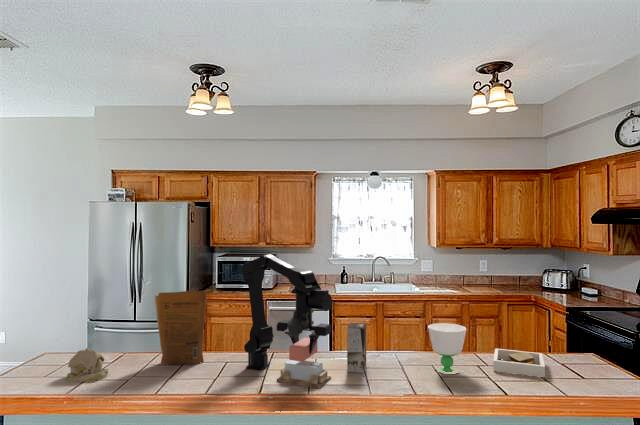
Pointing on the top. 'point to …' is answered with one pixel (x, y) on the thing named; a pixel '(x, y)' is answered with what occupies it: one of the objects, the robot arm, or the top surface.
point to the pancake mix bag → (181, 326)
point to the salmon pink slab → (301, 350)
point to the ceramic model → (86, 366)
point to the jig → (313, 380)
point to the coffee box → (356, 347)
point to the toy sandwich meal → (521, 358)
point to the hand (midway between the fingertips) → (303, 352)
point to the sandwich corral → (518, 367)
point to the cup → (447, 342)
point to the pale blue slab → (303, 369)
